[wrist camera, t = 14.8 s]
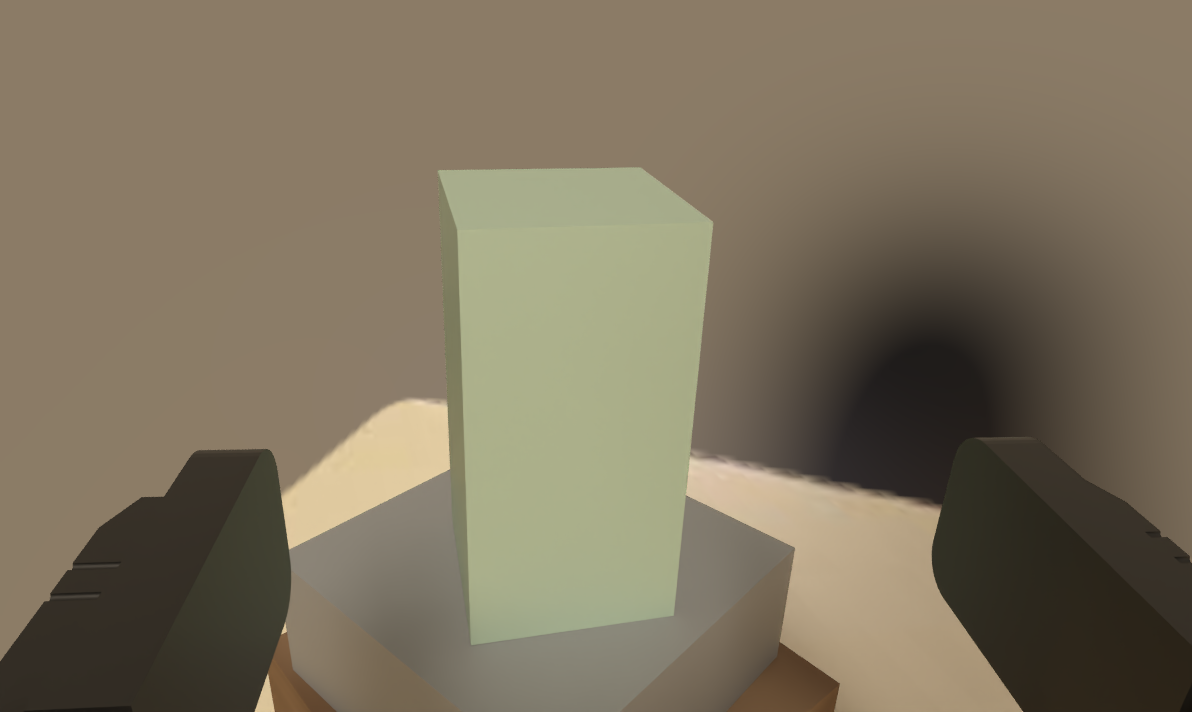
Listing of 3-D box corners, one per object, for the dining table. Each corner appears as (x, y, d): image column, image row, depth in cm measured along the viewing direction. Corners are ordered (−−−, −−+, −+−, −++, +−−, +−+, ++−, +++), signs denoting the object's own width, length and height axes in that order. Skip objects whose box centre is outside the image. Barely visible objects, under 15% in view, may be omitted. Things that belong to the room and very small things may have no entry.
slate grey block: (538, 519, 31) (539, 424, 29) (777, 656, 25) (794, 547, 23) (292, 669, 24) (275, 556, 22) (544, 909, 18) (545, 781, 16)
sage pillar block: (620, 500, 25) (640, 167, 21) (673, 615, 20) (713, 222, 16) (452, 519, 24) (437, 170, 20) (471, 645, 19) (457, 229, 15)
